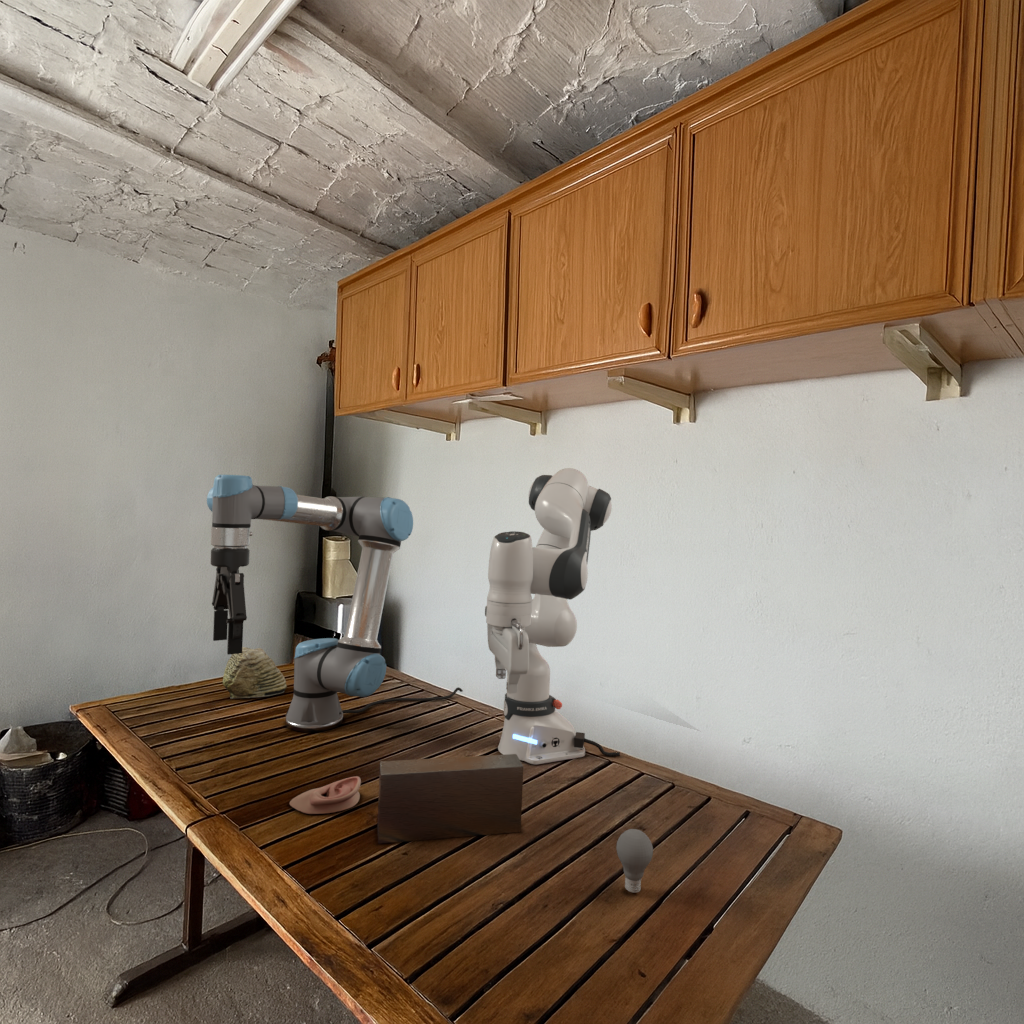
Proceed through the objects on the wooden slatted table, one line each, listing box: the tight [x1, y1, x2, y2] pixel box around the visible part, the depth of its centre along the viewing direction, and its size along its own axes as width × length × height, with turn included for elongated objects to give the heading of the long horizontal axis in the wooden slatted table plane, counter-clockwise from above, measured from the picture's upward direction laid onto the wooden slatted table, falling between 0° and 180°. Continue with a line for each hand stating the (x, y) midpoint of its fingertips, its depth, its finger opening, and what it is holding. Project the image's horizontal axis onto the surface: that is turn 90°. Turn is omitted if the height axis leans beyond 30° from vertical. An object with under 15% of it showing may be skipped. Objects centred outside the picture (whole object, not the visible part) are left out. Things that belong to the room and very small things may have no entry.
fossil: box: [222, 646, 288, 699], centre depth 198 cm, size 9×18×15 cm, turn 132°
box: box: [376, 754, 524, 845], centre depth 123 cm, size 27×6×13 cm, turn 104°
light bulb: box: [615, 828, 654, 894], centre depth 106 cm, size 6×6×10 cm
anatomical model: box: [289, 775, 362, 815], centre depth 131 cm, size 13×4×12 cm
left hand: (227, 646), depth 135 cm, fingers open, 13 cm apart
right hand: (506, 684), depth 124 cm, fingers open, 8 cm apart
